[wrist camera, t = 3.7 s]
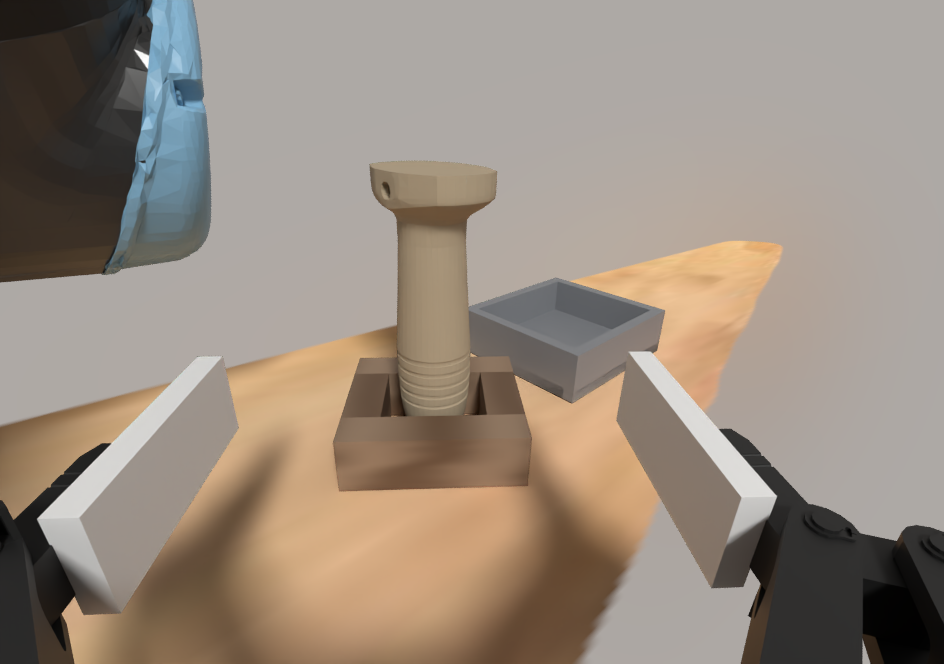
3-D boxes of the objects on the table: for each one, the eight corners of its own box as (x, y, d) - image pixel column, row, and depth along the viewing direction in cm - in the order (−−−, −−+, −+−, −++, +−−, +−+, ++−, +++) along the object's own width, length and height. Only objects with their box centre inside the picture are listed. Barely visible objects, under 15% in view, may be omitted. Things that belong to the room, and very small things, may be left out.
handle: (434, 485, 24) (428, 178, 18) (371, 426, 29) (348, 163, 23) (503, 447, 27) (518, 171, 21) (436, 399, 32) (432, 159, 25)
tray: (572, 403, 32) (578, 356, 30) (463, 348, 38) (463, 308, 37) (657, 350, 39) (665, 310, 37) (552, 312, 46) (556, 277, 44)
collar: (339, 491, 24) (333, 442, 23) (363, 398, 32) (360, 358, 30) (527, 485, 25) (531, 437, 23) (506, 395, 32) (508, 356, 31)
